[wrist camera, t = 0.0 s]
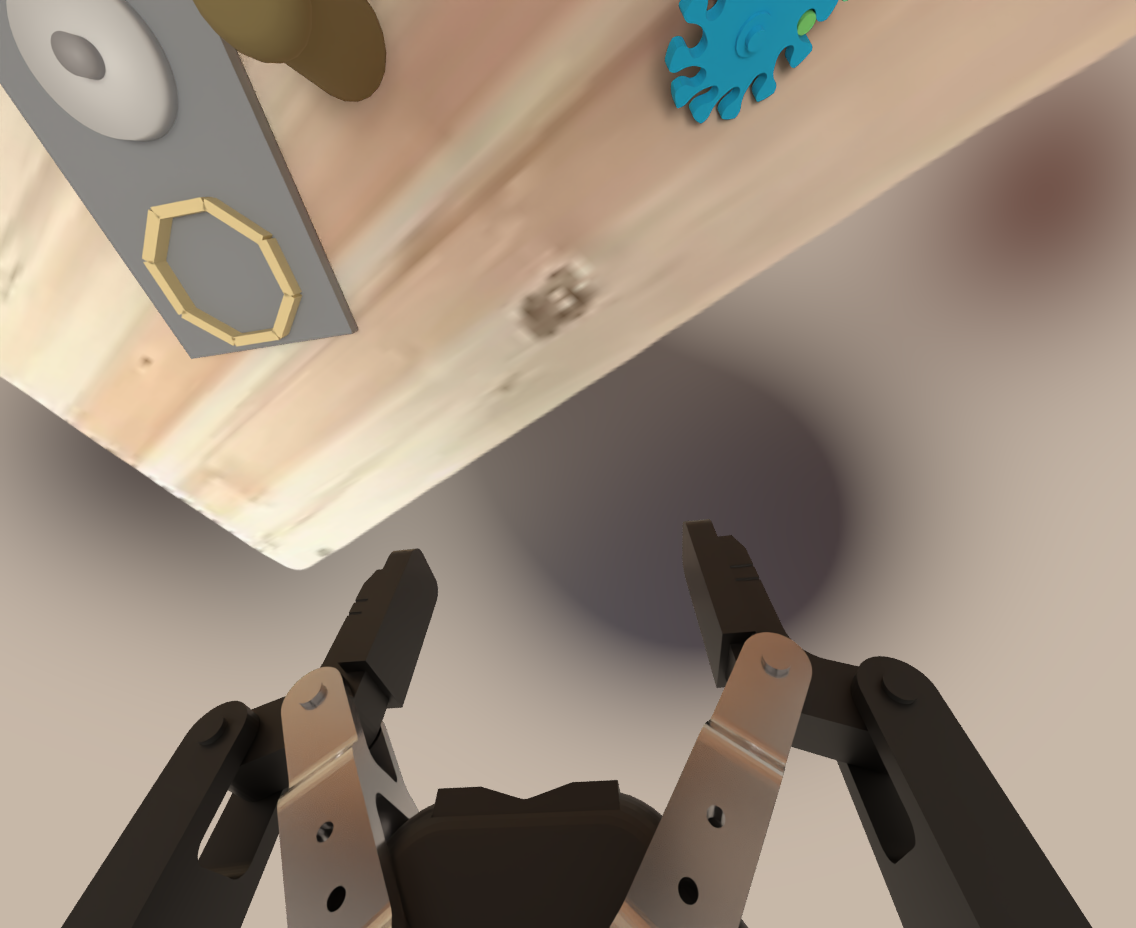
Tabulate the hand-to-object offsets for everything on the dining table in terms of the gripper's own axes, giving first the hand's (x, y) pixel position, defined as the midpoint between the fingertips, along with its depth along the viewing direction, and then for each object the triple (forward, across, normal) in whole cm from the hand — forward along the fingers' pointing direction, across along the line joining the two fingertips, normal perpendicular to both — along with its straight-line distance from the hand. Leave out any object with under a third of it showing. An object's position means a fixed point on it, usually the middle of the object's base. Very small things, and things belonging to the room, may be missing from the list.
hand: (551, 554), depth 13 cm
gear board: (+29, +27, -13) cm, 42 cm away
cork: (+30, +12, -19) cm, 37 cm away
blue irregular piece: (+30, -14, -15) cm, 36 cm away
